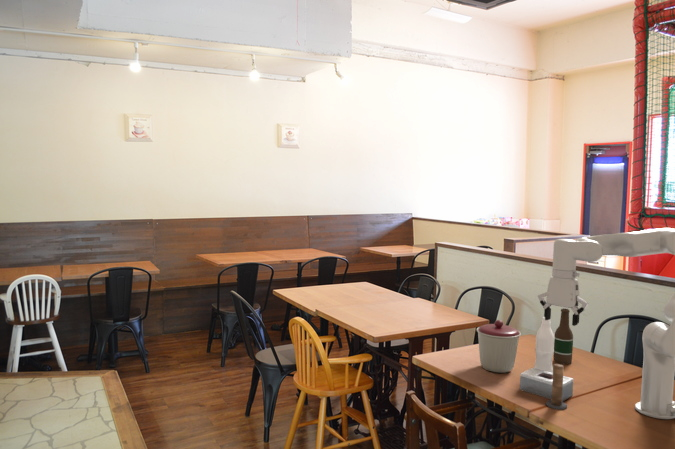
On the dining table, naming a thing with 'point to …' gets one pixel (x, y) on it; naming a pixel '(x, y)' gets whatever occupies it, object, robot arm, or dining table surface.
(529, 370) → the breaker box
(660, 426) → the dining table surface
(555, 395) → the brown wooden block
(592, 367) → the dining table surface
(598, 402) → the dining table surface
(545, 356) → the water bottle
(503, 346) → the canister
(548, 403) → the coaster
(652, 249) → the robot arm
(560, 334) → the beer bottle
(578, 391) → the dining table surface
